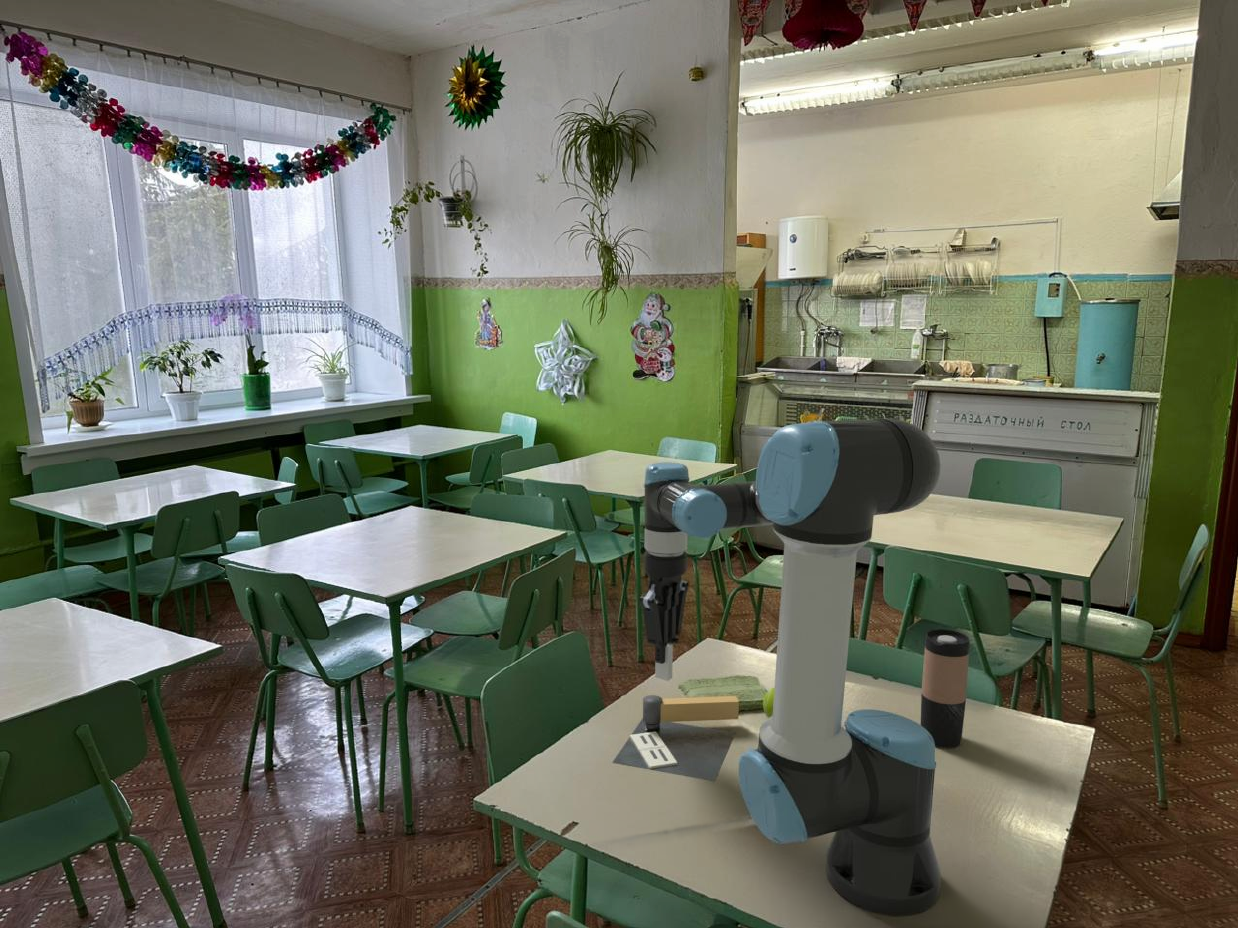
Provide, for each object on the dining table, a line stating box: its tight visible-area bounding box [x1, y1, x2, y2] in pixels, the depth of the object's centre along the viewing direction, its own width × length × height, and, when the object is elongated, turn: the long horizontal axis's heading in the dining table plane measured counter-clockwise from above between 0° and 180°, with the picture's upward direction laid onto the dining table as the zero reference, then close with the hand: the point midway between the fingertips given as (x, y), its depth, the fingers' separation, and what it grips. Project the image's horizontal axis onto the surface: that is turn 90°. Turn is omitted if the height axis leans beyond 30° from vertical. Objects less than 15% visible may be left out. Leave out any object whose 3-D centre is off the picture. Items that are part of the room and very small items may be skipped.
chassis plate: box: [612, 717, 736, 782], centre depth 150 cm, size 18×18×3 cm
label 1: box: [629, 731, 666, 753], centre depth 151 cm, size 6×5×1 cm
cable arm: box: [642, 694, 740, 724], centre depth 156 cm, size 18×4×4 cm, turn 95°
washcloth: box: [678, 674, 769, 712], centre depth 171 cm, size 13×18×3 cm
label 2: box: [640, 746, 677, 770], centre depth 146 cm, size 6×5×1 cm
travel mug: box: [920, 628, 971, 749], centre depth 153 cm, size 8×8×20 cm
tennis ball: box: [762, 687, 774, 719], centre depth 161 cm, size 7×7×7 cm
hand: (663, 677), depth 150 cm, fingers closed
